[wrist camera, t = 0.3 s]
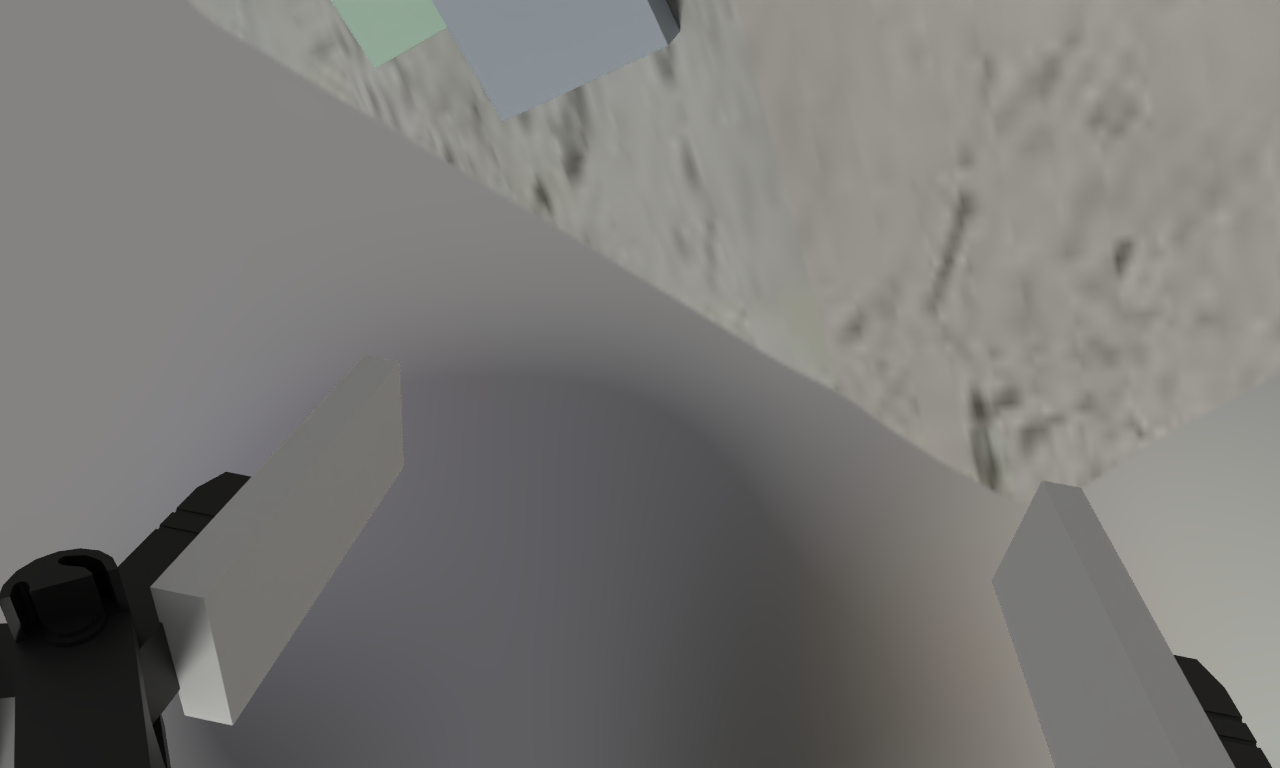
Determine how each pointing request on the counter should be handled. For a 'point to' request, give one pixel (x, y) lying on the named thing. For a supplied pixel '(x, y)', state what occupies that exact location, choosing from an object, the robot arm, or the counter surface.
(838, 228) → the counter surface
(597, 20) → the square cutout plate
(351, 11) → the pad
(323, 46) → the counter surface
